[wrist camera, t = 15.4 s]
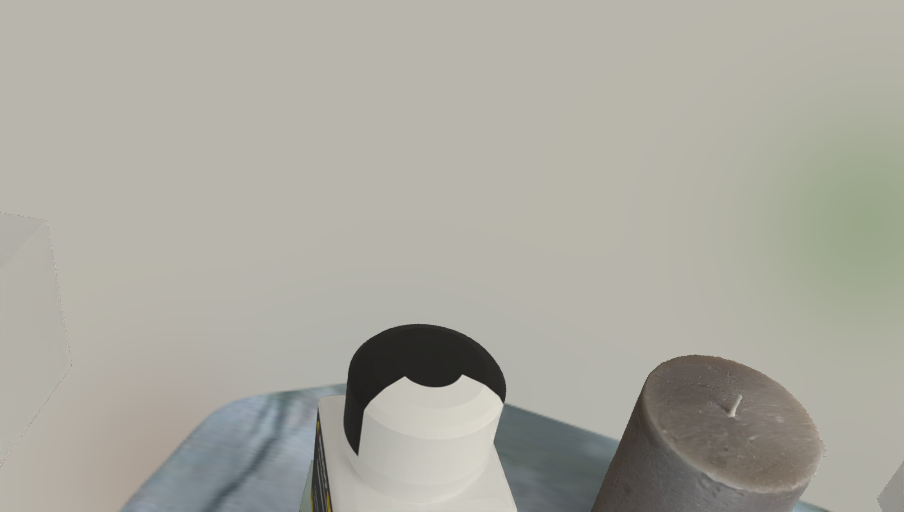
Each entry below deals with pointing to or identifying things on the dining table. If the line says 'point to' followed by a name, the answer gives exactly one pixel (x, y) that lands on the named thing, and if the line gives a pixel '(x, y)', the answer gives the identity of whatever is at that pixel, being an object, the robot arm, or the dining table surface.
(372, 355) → the medicine bottle
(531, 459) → the dining table surface
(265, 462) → the dining table surface
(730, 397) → the pillar candle
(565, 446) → the dining table surface
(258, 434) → the dining table surface
